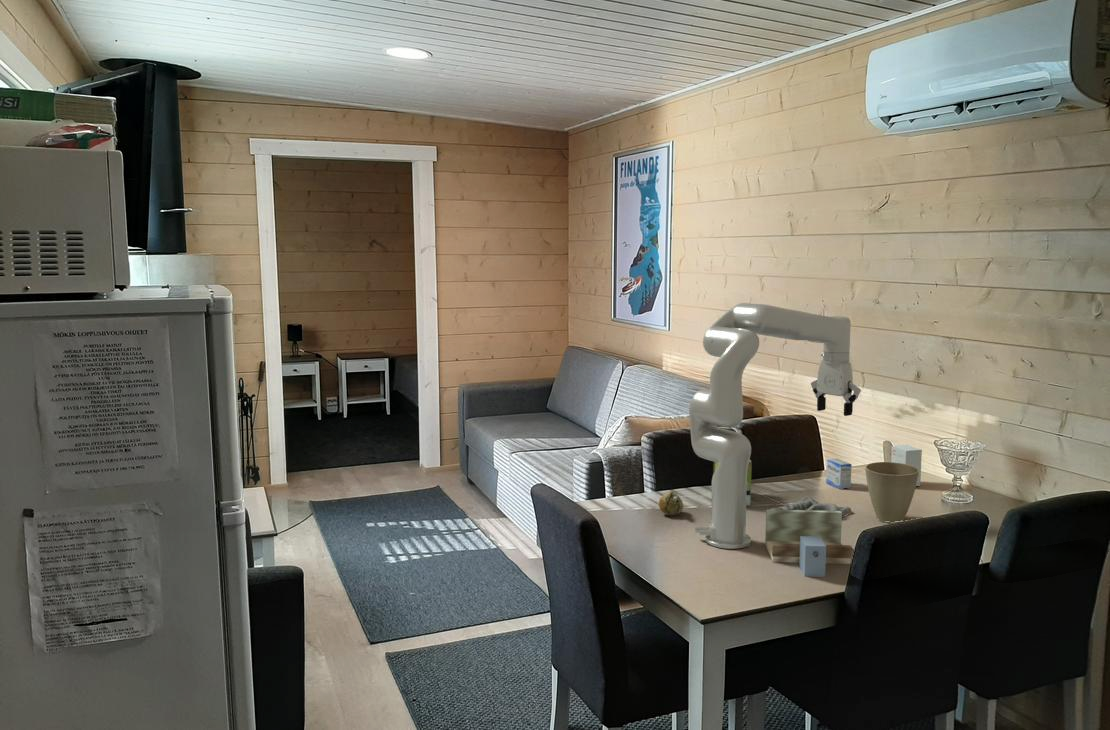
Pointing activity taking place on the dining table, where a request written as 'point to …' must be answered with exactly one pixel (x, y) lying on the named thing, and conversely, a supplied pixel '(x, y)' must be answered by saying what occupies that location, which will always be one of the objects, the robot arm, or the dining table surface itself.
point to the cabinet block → (812, 556)
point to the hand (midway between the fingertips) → (834, 412)
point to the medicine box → (838, 473)
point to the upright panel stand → (804, 534)
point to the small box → (907, 457)
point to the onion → (671, 504)
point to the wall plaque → (814, 506)
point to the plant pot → (891, 489)
